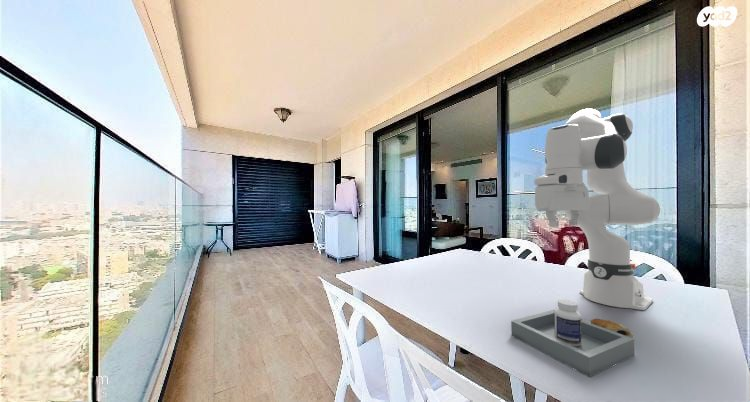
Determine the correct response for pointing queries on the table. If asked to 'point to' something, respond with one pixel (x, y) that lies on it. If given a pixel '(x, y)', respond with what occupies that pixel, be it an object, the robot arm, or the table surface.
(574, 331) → the pill bottle
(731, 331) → the table surface
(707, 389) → the table surface
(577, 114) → the robot arm
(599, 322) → the pastry
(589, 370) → the tray
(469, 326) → the table surface
